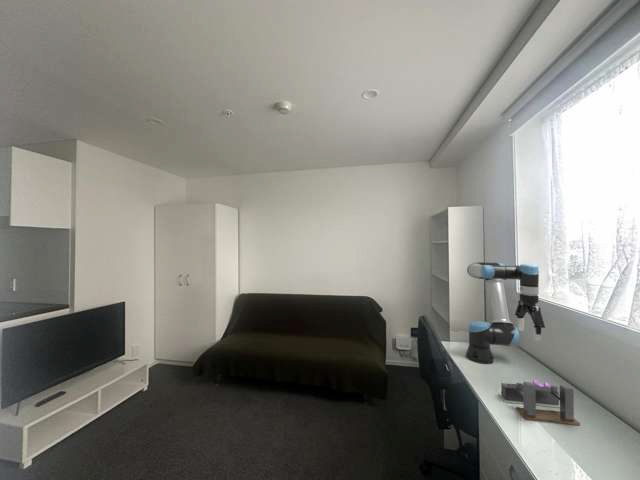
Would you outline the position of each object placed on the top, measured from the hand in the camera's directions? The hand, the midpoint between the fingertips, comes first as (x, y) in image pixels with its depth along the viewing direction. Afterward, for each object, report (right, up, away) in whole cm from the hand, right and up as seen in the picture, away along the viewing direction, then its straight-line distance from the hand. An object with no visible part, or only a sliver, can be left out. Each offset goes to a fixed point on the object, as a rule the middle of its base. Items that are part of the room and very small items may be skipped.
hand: (528, 335), depth 132 cm
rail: (-9, -27, -11) cm, 30 cm away
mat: (-9, -27, -11) cm, 31 cm away
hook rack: (-10, -27, -21) cm, 35 cm away
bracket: (+3, -28, -3) cm, 28 cm away
